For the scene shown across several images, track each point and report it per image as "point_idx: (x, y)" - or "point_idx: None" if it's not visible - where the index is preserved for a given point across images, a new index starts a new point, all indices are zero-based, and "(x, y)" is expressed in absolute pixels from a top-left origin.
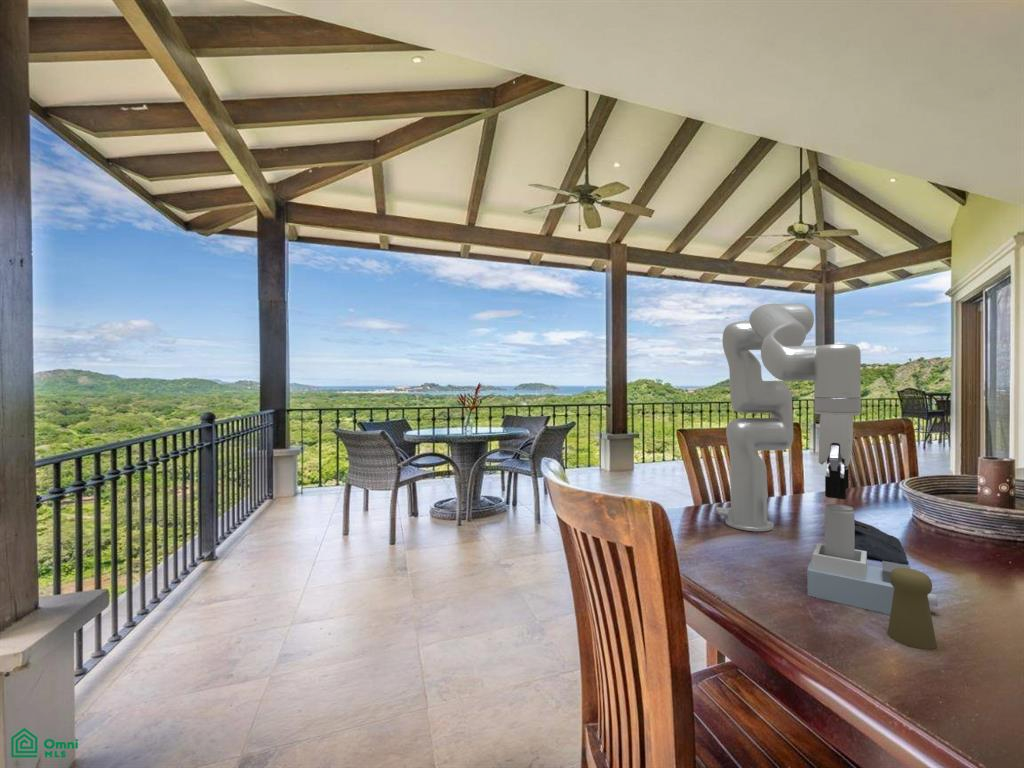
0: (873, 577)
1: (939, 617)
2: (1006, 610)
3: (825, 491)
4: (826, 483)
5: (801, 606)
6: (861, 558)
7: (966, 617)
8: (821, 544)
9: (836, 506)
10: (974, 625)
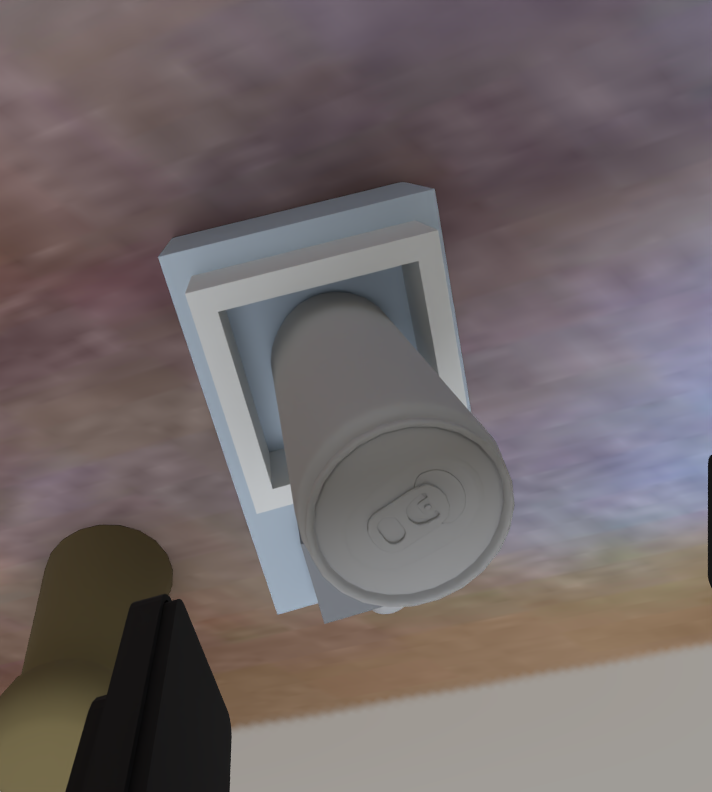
0: None
1: None
2: (565, 656)
3: (124, 641)
4: (98, 747)
5: (31, 262)
6: None
7: (424, 615)
8: (423, 258)
9: (427, 492)
10: (376, 639)
